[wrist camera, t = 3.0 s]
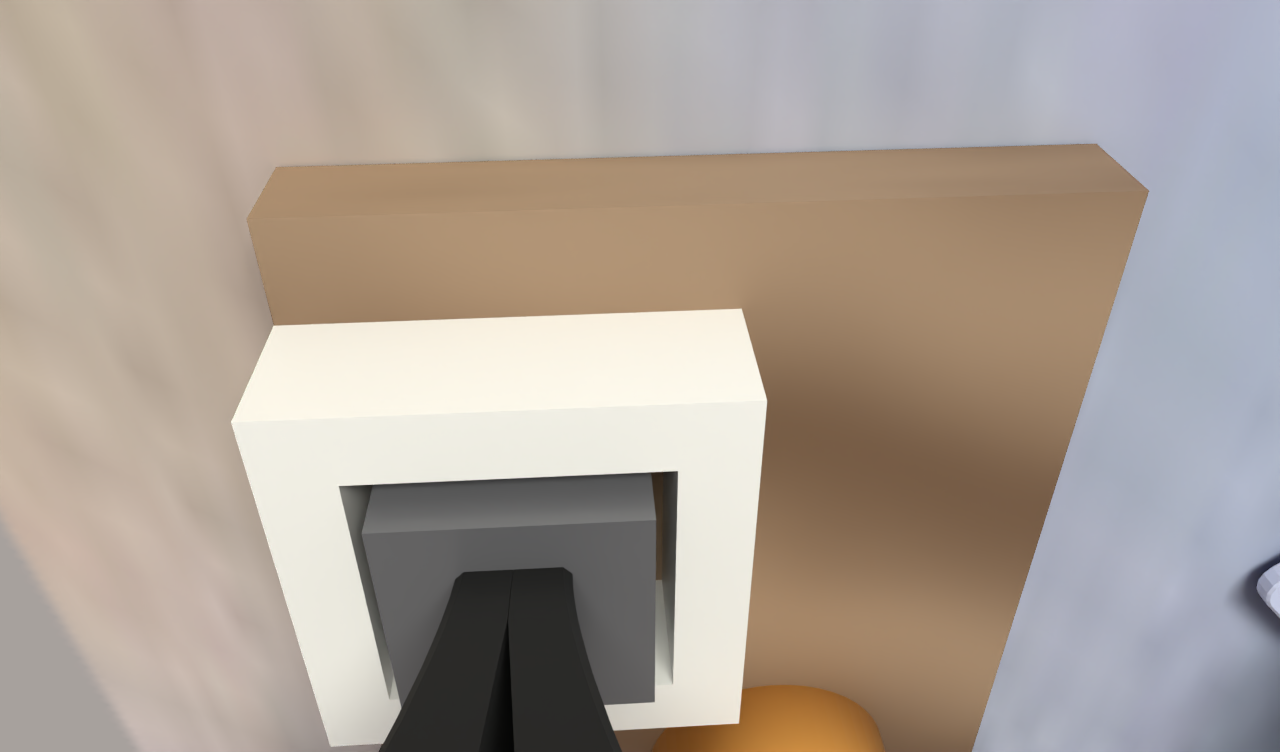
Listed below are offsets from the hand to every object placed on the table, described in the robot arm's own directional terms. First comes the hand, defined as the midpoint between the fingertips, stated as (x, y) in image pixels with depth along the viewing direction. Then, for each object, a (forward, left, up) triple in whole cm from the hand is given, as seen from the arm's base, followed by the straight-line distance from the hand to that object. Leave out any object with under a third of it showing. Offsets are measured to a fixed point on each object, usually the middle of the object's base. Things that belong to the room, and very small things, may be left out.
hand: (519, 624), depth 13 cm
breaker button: (0, 0, -2) cm, 2 cm away
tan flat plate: (-7, +3, -4) cm, 8 cm away
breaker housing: (0, 0, -2) cm, 2 cm away
